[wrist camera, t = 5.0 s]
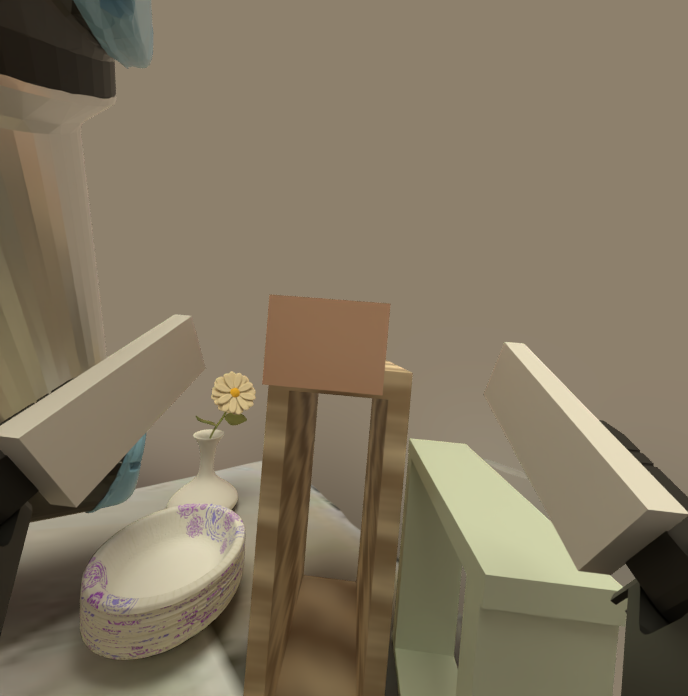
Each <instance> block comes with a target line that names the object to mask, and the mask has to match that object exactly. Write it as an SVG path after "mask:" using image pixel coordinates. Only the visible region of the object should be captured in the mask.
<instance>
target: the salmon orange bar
mask: <svg viewBox="0 0 688 696" xmlns="http://www.w3.org/2000/svg"><path fill="white" fill-rule="evenodd" d="M389 315H390V304H387V303H374V302H361V301H348V300H335V299H322V298H309V297H296V296H282V295H270V296H269V309H268V321H267V334H266V346H265V358H264V370H263V383H262V384H265V385H275V386H285V387H296V388H307V389H318V390H328V391H339V392H350V393H361V394H371V395H382V396H383V384H384V373H385V361H386V350H387V338H388V326H389Z"/></svg>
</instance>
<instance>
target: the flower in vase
mask: <svg viewBox="0 0 688 696" xmlns="http://www.w3.org/2000/svg"><path fill="white" fill-rule="evenodd" d="M214 385H215V387H213V389H212V390H213V391H212V396H211V398H212V399H213V400H215V401H214V403H215V404H216V405H218V409H219V410H221V411H224V412H225V413H224V415H223V416H222V418H221V419H220V421H219V422H218V423H217V425H215V424H214V423H213V422H210V421H206V420H203V419H200V418H199V417H197V416H196V418H197V420H198V421H200V422H203V423H207V424H210V425H214V426H215V428H214V429H210V430H202V431H198V432H196V433H195V434H194V435H193V437H194V438H195V439H196V441H197V442H198V445H199V449H200V468H199V472H198V475H197V476H196V477H195V478H194V479H193V480H192V481H190V482H189V483H188V484H186V485H185V486H183V487H182V488H181V489H179V490H178V491H177V492H176V493H175V494H174V495H173V496H172V497H171V498H170V500H169V502H168V504H167V506H166V509H167V508H170V507H175V506H179V505H185V504H195V503H207V504H216V505H220V506H224V507H226V508H228V509H230V510H232V508H233V507H234V506H235V504H236V503H237V501H238V494H237V491H236V489H235V488H234V487H233V486H232V485H231V484H230V483H229V482H227V481H225V480H223V479H222V478H220V477H218V476H217V475H216V474H215V472H214V457H215V452H216V448H217V445H218V443H219V441H220V439H221V438H222V437H223V435H224V434H225V433H224V432H223V431H221V430H216V428H217V426H218V425H219V424H220V422H221V421H222V420H223V418H224V417H225V420H226V421H227V422H228V423H229V424H230V425H238V424H241V423H243V422H245V421H246V420H247V419H246V418H245V416H244V415H242V414H241V413H242V412H243V409H244V410H248V409H249V408H250V407H252V406H253V400H255V398H256V397H255V393H256V391H255V388H254V387H252V386H253V384H252V383H250V382H249V379H248V378H247V377H246V376H242V374H241V373H237V375H236V373H234V372H230V373H229V374H224V378H223V377H219V378H217V379H216V381H215V383H214ZM230 412H231V413H230ZM226 413H229V414H227V415H226ZM225 415H226V416H225Z"/></svg>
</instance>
